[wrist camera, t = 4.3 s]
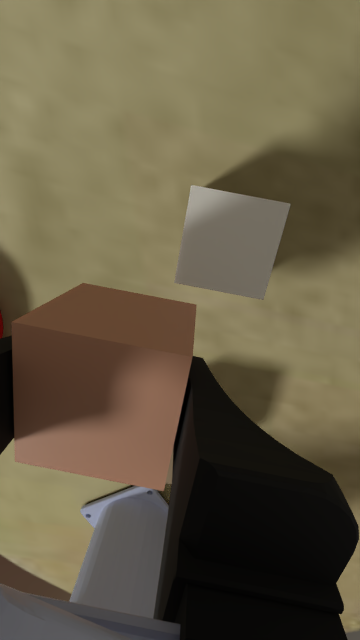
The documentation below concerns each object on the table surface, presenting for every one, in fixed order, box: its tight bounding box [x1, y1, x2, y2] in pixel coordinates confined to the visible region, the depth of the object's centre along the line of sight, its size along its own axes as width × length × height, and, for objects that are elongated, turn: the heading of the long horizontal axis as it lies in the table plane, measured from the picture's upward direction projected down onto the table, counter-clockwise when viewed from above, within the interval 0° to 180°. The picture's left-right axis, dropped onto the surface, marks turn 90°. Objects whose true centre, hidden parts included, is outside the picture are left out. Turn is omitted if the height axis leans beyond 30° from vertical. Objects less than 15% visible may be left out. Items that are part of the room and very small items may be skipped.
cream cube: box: [174, 185, 291, 300], centre depth 17 cm, size 5×5×5 cm
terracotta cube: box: [11, 283, 196, 491], centre depth 11 cm, size 5×5×5 cm
